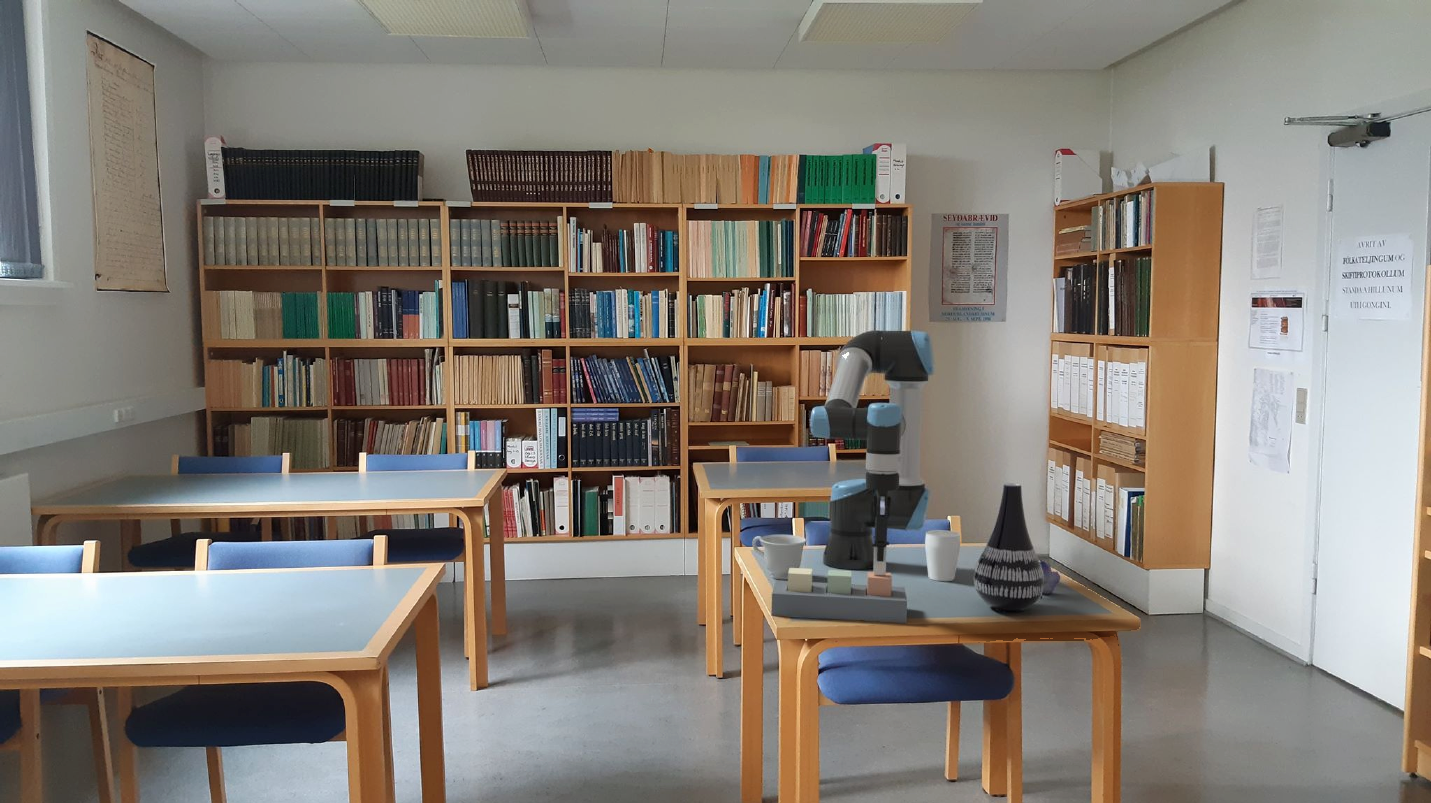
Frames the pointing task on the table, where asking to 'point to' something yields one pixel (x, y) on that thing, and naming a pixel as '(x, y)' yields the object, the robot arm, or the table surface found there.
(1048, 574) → the flower
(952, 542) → the cup
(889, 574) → the button terracotta
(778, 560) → the teacup
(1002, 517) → the vase
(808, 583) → the button cream
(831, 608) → the panel
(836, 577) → the button sage
